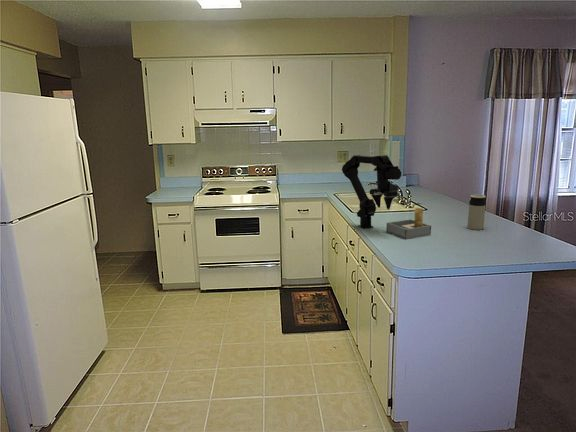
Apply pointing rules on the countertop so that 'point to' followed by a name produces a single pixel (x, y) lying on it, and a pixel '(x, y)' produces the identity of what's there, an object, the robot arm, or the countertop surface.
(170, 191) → the countertop surface
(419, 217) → the peg
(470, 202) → the travel mug
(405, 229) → the bore box
